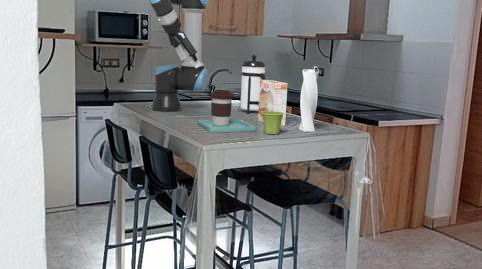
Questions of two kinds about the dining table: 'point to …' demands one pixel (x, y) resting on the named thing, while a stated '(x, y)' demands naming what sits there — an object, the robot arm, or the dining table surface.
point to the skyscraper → (308, 100)
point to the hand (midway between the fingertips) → (190, 62)
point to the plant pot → (272, 121)
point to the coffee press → (251, 84)
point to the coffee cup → (221, 107)
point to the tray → (232, 127)
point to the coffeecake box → (272, 98)
